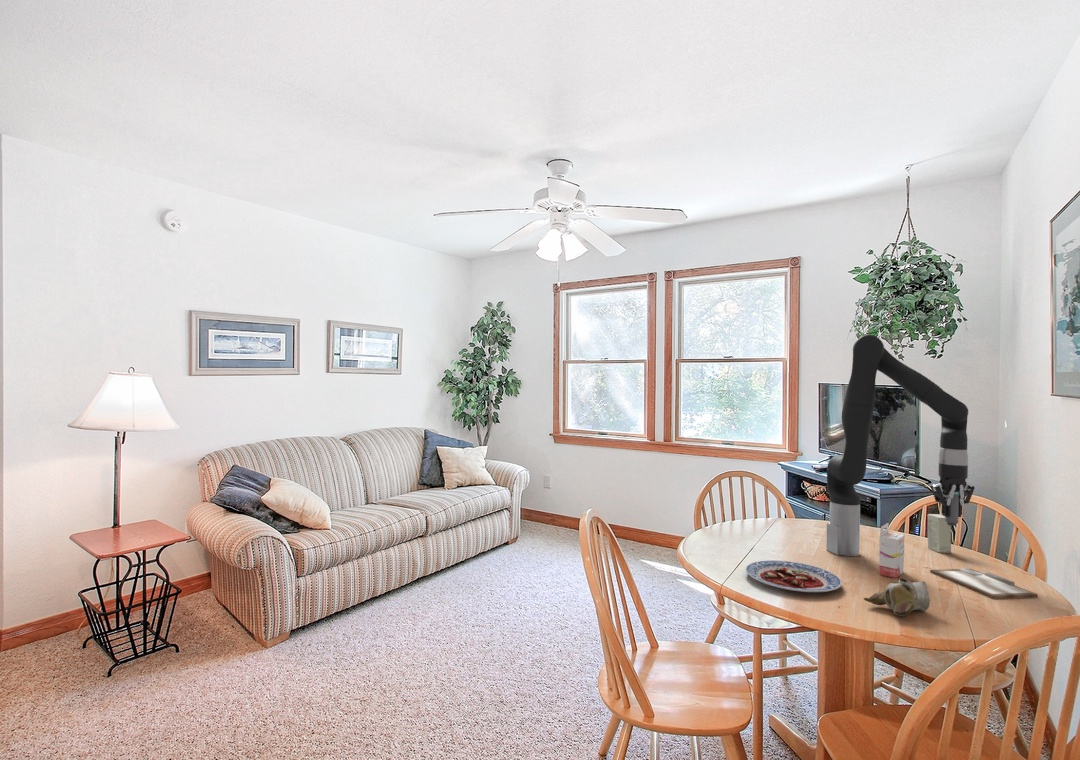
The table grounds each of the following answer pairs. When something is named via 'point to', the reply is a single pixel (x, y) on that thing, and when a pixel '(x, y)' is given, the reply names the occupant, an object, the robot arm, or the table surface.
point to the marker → (953, 510)
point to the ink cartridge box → (891, 553)
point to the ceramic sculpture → (903, 597)
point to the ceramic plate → (793, 576)
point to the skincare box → (939, 534)
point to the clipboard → (984, 583)
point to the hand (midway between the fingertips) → (951, 516)
